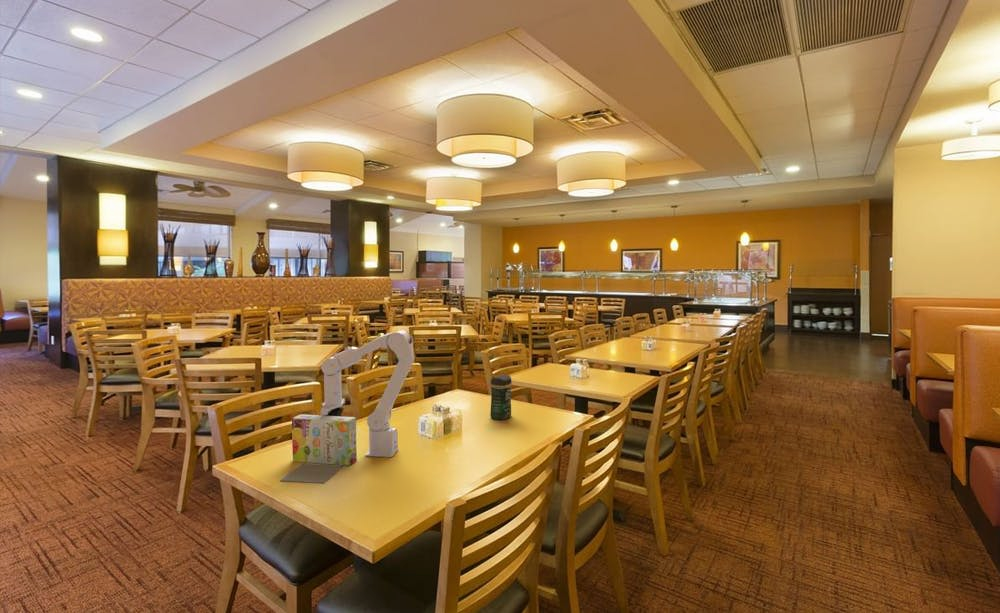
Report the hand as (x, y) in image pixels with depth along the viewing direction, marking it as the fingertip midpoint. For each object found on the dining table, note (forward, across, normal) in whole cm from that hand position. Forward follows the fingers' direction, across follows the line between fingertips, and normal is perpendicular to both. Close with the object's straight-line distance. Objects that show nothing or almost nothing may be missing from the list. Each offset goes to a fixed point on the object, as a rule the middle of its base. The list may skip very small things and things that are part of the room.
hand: (333, 429), depth 170 cm
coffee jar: (+9, -49, +54) cm, 73 cm away
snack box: (+9, +7, 0) cm, 11 cm away
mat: (+8, +18, +1) cm, 20 cm away
